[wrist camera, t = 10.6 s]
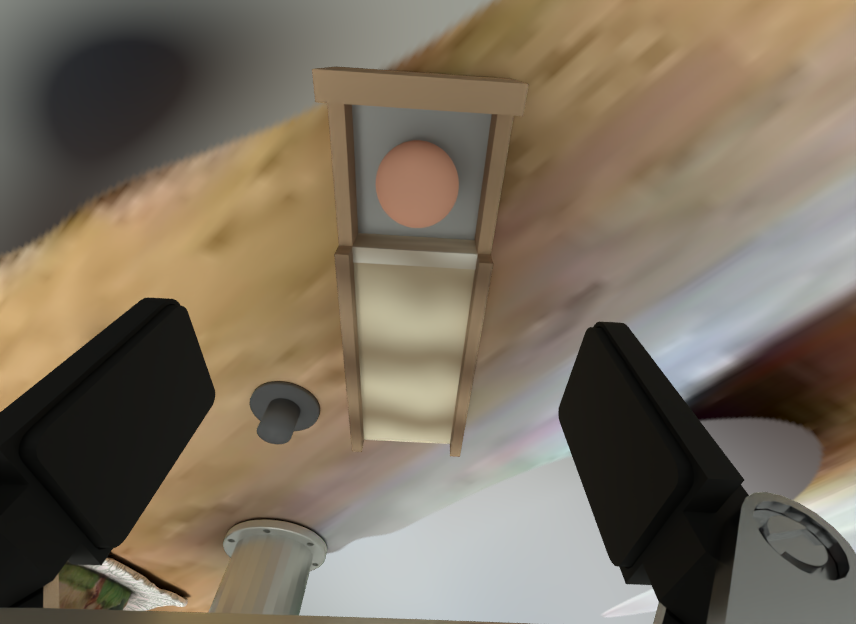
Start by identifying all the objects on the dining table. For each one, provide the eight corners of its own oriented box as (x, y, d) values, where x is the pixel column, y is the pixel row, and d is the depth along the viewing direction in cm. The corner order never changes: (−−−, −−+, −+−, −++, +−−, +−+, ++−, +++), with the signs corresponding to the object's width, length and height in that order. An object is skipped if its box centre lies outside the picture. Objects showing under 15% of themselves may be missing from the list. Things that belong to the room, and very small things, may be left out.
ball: (460, 136, 21) (466, 152, 17) (453, 215, 23) (456, 243, 19) (380, 131, 21) (368, 145, 17) (381, 210, 23) (370, 238, 19)
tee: (323, 429, 35) (314, 457, 33) (258, 425, 35) (245, 454, 33) (316, 383, 32) (305, 410, 29) (244, 379, 32) (228, 406, 29)
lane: (457, 422, 34) (459, 456, 31) (359, 417, 34) (352, 451, 31) (486, 238, 24) (493, 263, 21) (346, 230, 24) (334, 254, 21)
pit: (486, 238, 24) (495, 271, 21) (346, 230, 24) (330, 261, 20) (511, 78, 19) (529, 83, 16) (336, 66, 19) (312, 68, 15)
